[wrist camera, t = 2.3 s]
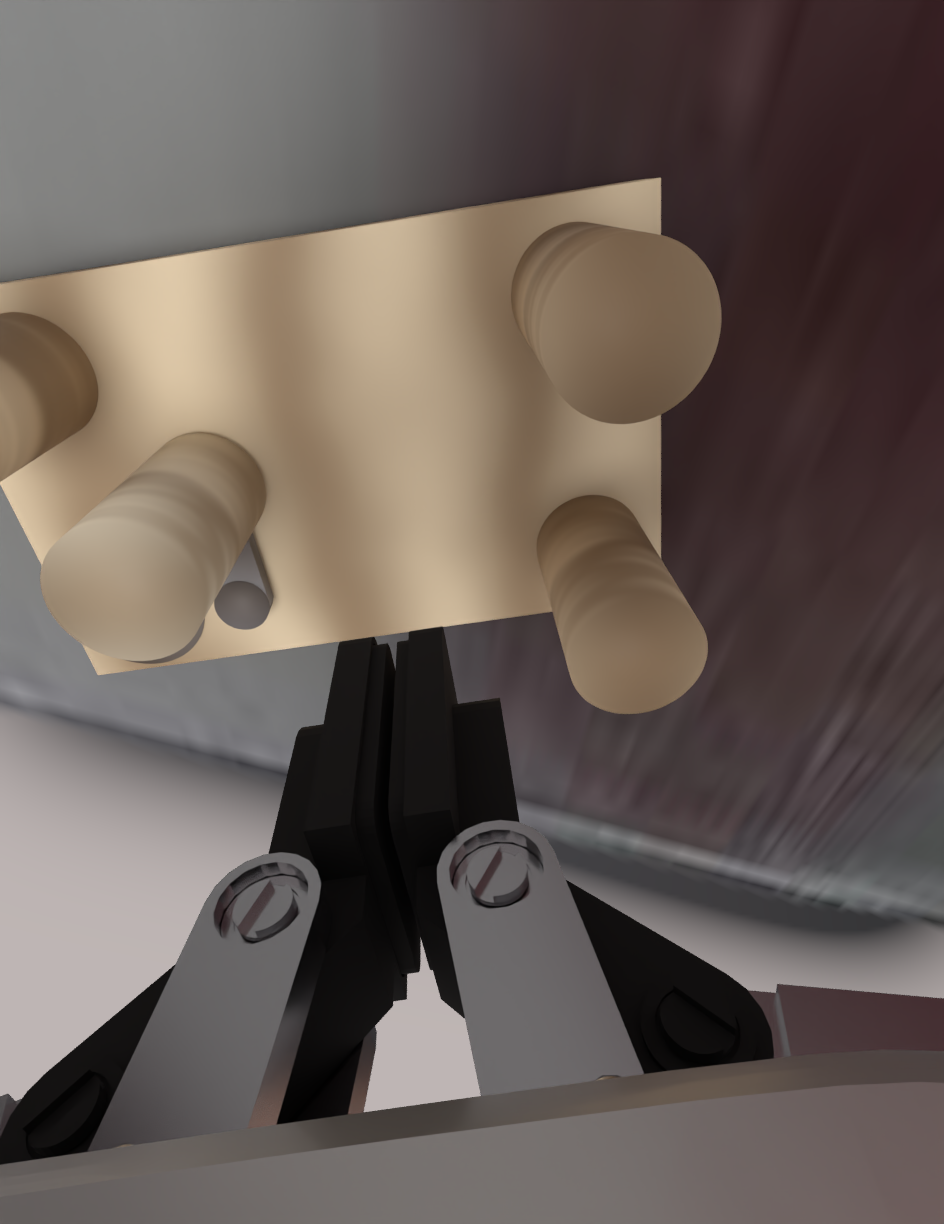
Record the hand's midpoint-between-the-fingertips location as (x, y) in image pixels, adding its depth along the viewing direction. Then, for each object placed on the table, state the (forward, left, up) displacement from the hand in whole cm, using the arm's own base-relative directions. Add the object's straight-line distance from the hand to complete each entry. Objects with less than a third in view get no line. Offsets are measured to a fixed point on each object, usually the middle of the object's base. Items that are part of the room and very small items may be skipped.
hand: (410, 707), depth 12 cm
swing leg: (+7, +1, -12) cm, 14 cm away
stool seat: (+3, 0, -15) cm, 15 cm away
